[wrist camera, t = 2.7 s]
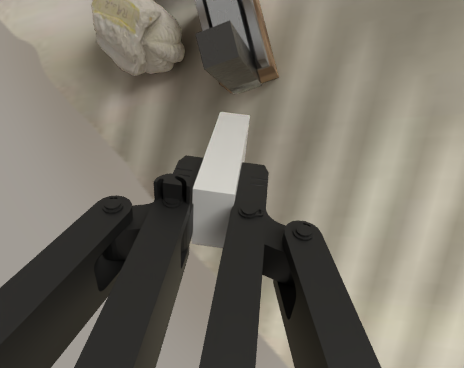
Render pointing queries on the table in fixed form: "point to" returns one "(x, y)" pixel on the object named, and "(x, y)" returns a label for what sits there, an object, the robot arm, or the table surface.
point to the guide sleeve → (256, 36)
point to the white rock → (138, 35)
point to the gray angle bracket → (228, 47)
